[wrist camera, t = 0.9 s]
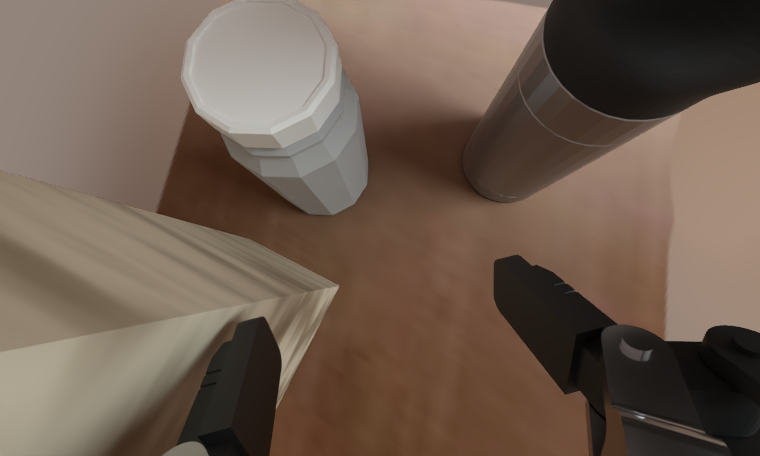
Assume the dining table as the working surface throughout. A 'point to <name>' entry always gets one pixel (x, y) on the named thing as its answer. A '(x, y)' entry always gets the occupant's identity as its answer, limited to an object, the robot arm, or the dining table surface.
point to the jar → (280, 100)
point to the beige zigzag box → (126, 319)
